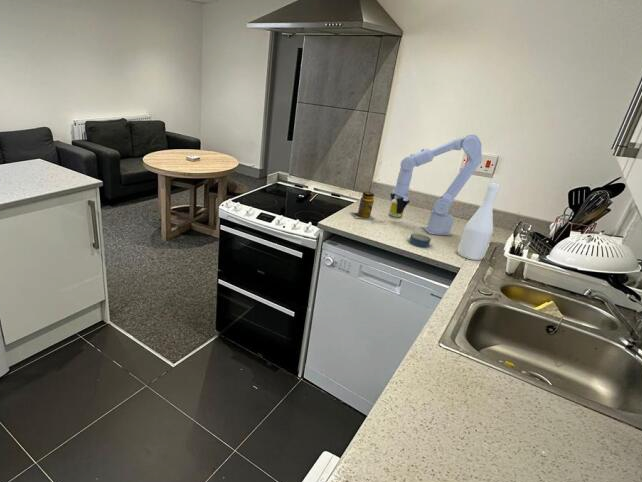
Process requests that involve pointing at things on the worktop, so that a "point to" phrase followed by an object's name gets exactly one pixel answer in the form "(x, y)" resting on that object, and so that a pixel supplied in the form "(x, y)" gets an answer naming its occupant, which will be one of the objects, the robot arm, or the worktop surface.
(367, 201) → the condiment
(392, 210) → the pill bottle
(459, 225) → the worktop surface
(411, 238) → the tin
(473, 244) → the wine bottle
